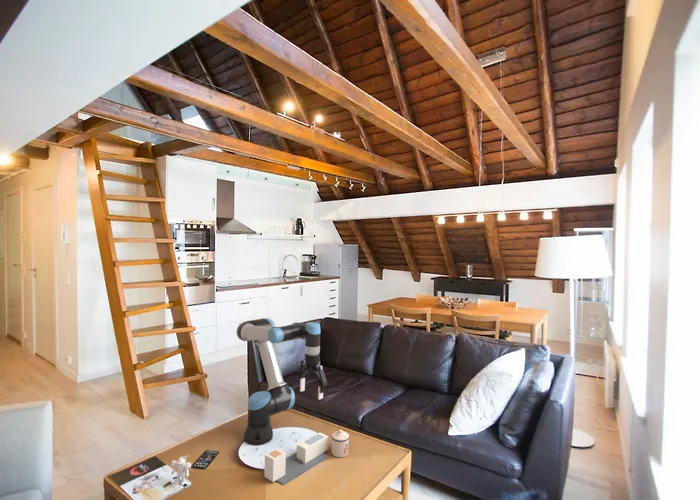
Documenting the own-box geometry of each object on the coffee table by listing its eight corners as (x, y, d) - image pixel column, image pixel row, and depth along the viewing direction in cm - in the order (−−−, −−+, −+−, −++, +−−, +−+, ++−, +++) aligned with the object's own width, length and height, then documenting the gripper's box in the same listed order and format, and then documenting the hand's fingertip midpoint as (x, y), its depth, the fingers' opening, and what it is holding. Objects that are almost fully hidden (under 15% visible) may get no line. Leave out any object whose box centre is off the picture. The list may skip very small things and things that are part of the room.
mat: (263, 472, 176) (263, 470, 176) (308, 446, 198) (308, 445, 198) (283, 485, 167) (283, 484, 167) (328, 457, 189) (328, 456, 189)
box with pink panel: (264, 476, 171) (264, 454, 171) (276, 469, 177) (277, 448, 176) (273, 482, 167) (273, 459, 167) (285, 474, 173) (285, 453, 172)
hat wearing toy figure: (192, 481, 168) (193, 454, 167) (187, 487, 164) (187, 459, 163) (173, 478, 169) (174, 452, 169) (168, 484, 165) (168, 457, 165)
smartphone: (220, 451, 191) (205, 469, 176) (220, 452, 191) (205, 470, 176) (206, 449, 192) (190, 467, 177) (206, 451, 192) (189, 468, 177)
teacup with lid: (347, 459, 188) (347, 436, 188) (329, 456, 190) (329, 433, 189) (351, 446, 200) (351, 424, 200) (334, 444, 201) (334, 422, 201)
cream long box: (294, 459, 185) (294, 445, 185) (319, 445, 199) (319, 431, 198) (303, 464, 181) (303, 449, 181) (327, 449, 195) (328, 435, 195)
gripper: (290, 349, 199) (289, 389, 200) (324, 360, 183) (323, 404, 184) (301, 346, 205) (300, 385, 206) (335, 357, 188) (333, 399, 189)
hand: (311, 394), depth 195 cm, fingers open, 13 cm apart
